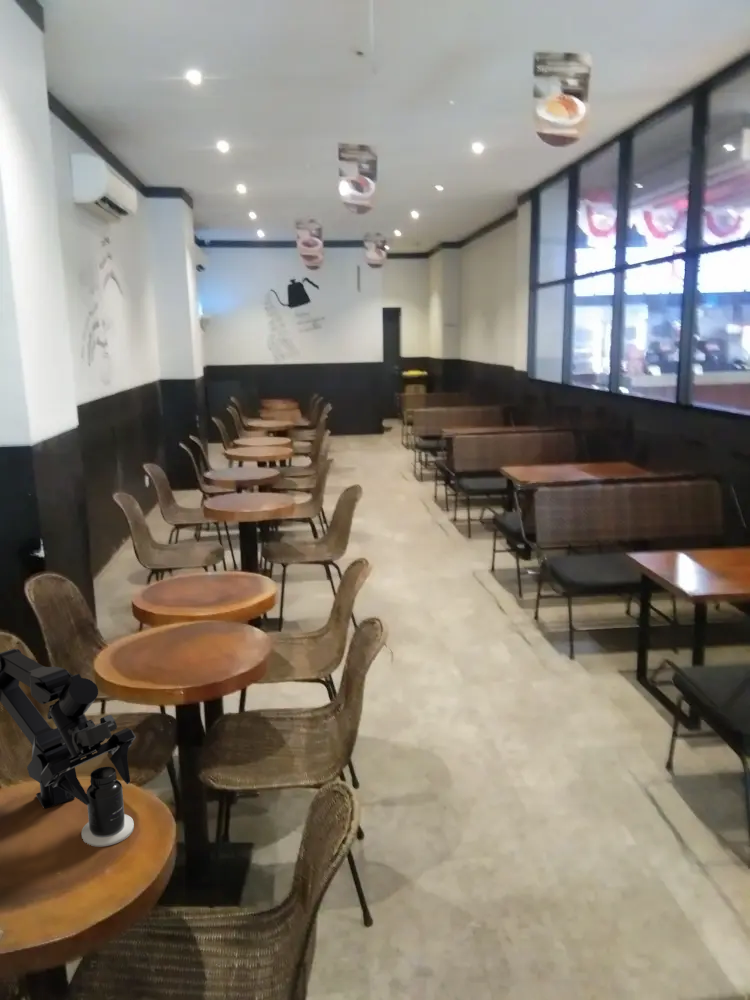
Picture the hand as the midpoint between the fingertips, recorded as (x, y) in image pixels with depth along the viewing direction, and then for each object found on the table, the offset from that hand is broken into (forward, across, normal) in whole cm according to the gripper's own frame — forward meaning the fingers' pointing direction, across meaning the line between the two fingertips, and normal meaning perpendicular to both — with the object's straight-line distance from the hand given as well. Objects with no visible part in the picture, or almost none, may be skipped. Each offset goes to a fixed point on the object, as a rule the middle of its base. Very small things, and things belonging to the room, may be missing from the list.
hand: (108, 793), depth 155 cm
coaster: (+5, 0, +7) cm, 9 cm away
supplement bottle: (+5, 0, +7) cm, 8 cm away
